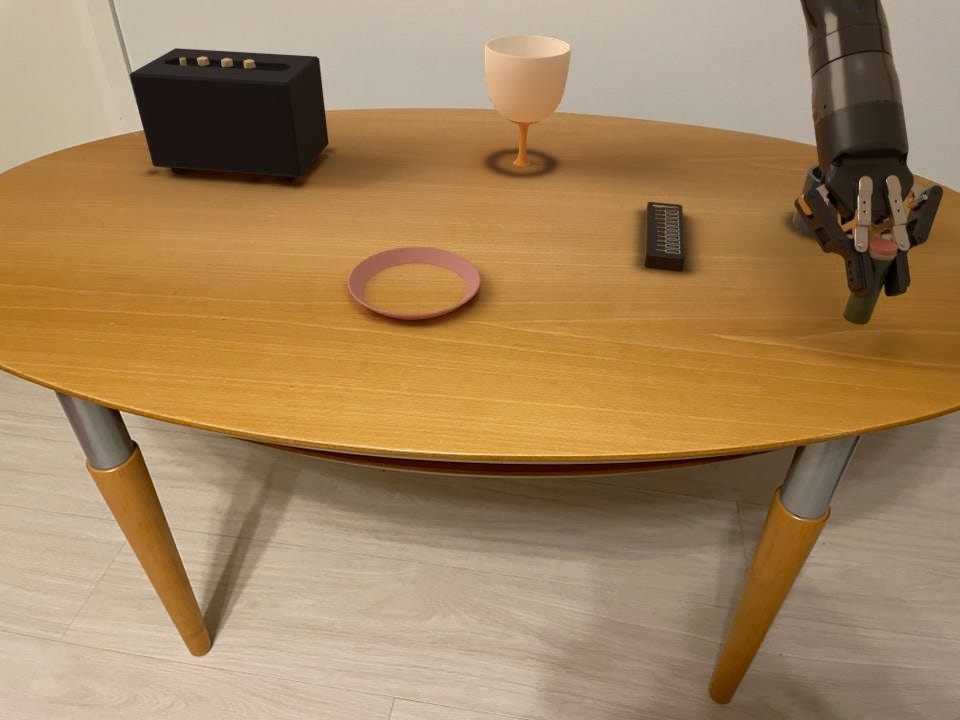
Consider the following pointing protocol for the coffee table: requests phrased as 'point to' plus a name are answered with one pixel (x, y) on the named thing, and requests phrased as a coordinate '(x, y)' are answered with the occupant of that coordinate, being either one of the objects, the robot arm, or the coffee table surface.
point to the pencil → (881, 263)
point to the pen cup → (809, 183)
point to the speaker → (232, 111)
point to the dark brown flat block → (664, 237)
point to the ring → (413, 256)
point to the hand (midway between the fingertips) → (880, 294)
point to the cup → (526, 80)
